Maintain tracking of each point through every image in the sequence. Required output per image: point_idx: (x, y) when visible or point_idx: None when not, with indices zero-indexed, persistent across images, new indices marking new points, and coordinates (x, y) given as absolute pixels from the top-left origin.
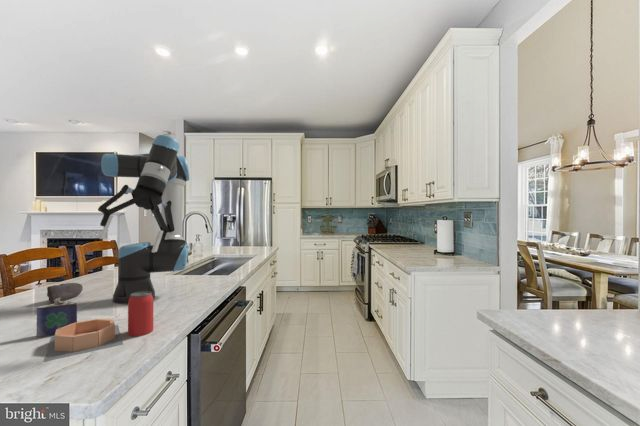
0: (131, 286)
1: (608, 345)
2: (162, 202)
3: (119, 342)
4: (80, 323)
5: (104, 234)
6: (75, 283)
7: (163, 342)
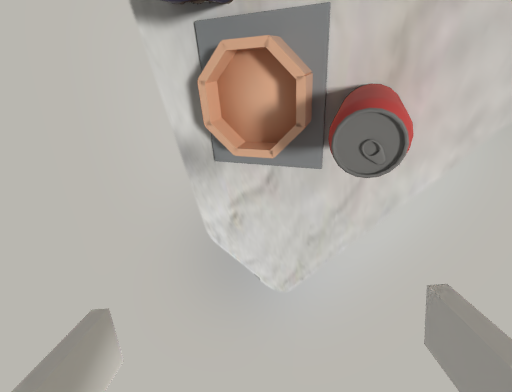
0: None
1: None
2: None
3: (316, 154)
4: (234, 49)
5: (105, 379)
6: None
7: (392, 202)
